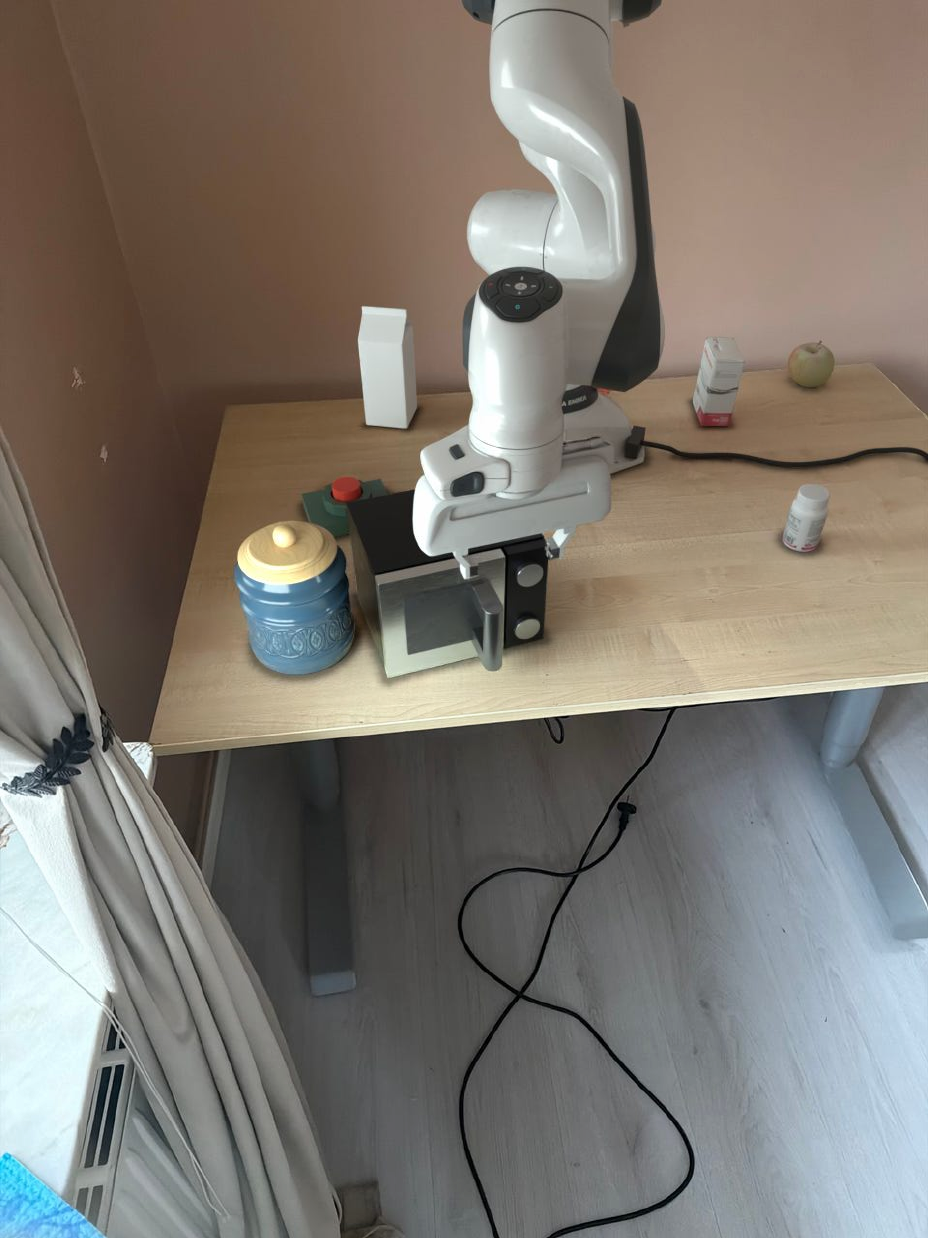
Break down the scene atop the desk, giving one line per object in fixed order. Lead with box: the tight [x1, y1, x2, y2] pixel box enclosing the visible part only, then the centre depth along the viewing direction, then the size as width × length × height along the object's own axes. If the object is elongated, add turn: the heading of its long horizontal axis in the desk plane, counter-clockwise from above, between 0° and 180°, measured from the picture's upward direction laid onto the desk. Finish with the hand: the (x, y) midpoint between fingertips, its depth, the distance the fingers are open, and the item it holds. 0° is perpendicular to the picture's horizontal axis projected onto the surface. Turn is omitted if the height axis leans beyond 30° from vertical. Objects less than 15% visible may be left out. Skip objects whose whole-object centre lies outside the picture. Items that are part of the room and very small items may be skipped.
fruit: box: [787, 340, 835, 388], centre depth 155 cm, size 8×7×8 cm
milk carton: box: [357, 305, 418, 429], centre depth 145 cm, size 7×7×19 cm
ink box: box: [692, 336, 746, 427], centre depth 147 cm, size 9×5×12 cm, turn 179°
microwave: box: [346, 488, 550, 668], centre depth 109 cm, size 16×20×15 cm
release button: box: [331, 476, 361, 502], centre depth 128 cm, size 4×4×2 cm
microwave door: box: [375, 549, 505, 679], centre depth 102 cm, size 7×15×15 cm, turn 108°
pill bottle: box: [782, 483, 831, 553], centre depth 122 cm, size 5×5×8 cm
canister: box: [233, 520, 356, 676], centre depth 106 cm, size 13×13×18 cm
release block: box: [301, 478, 389, 538], centre depth 130 cm, size 12×9×4 cm
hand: (512, 565), depth 94 cm, fingers open, 8 cm apart
